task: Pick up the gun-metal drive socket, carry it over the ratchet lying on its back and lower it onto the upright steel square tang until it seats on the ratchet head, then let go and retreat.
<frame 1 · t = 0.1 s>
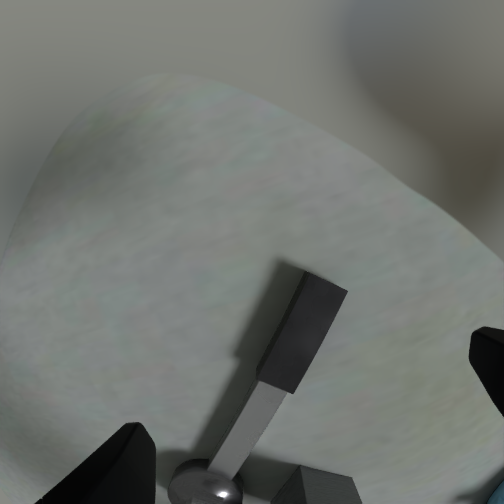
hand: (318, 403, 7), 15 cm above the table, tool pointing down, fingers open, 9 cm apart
socket: (311, 491, 22), on the table
ratchet: (208, 483, 23), on the table
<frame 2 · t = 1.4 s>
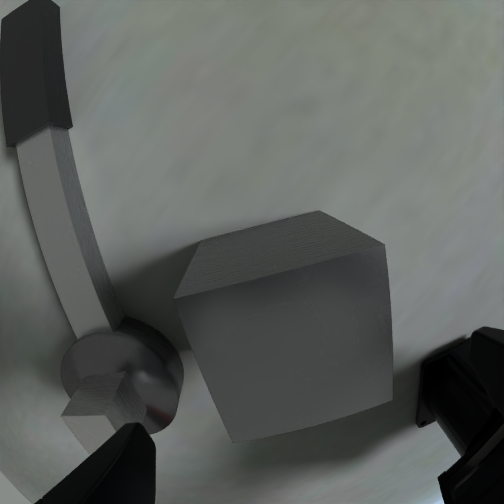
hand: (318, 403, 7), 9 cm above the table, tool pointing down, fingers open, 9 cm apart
socket: (274, 281, 15), on the table
ratchet: (128, 366, 16), on the table
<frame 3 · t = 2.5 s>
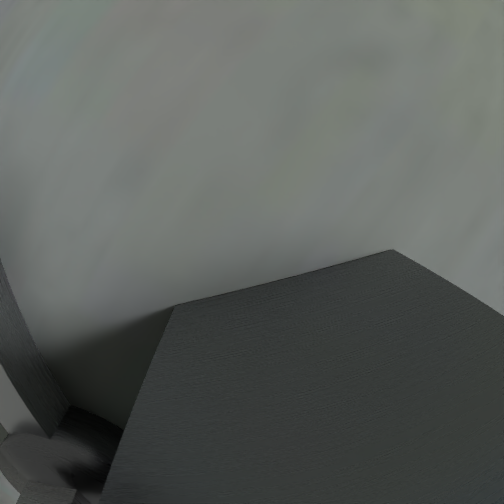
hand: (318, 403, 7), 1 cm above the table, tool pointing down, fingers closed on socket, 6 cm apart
socket: (307, 370, 8), on the table, touching gripper
ratchet: (89, 459, 9), on the table
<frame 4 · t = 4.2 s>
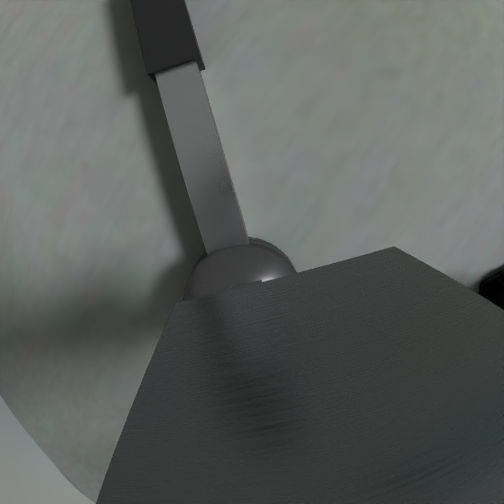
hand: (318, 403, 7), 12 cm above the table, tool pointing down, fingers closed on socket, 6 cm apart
socket: (308, 368, 8), point 10 cm above the table, touching gripper
ratchet: (244, 290, 19), on the table
when the fingers open (4 cm above the table, at t = 6.0 s): socket stays where it is, resting on ratchet.
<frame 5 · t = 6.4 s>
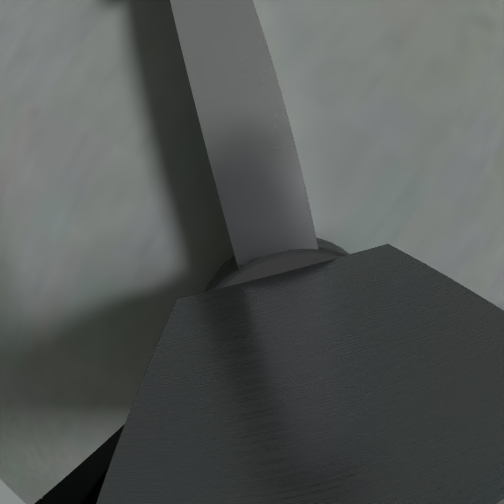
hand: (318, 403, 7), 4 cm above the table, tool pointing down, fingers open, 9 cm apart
socket: (305, 362, 8), point 2 cm above the table, touching ratchet
ratchet: (290, 325, 11), on the table, touching socket
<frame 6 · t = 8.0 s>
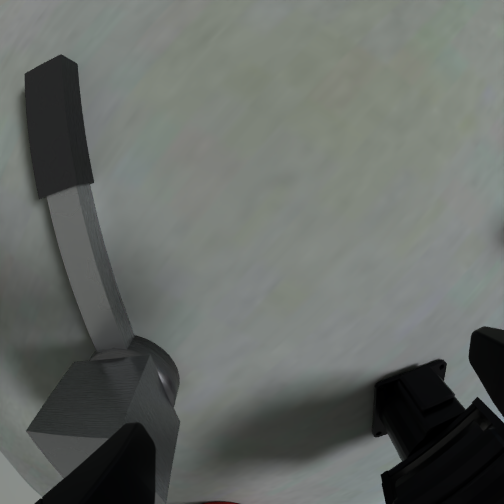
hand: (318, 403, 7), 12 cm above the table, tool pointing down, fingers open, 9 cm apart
socket: (126, 394, 18), point 2 cm above the table, touching ratchet
ratchet: (135, 373, 20), on the table, touching socket
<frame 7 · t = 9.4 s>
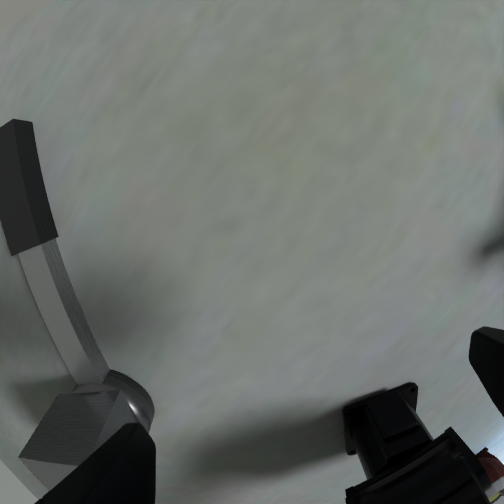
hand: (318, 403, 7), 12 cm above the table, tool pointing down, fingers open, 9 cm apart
socket: (106, 421, 18), point 2 cm above the table, touching ratchet
mate gourd: (468, 459, 27), on the table
ratchet: (115, 401, 21), on the table, touching socket
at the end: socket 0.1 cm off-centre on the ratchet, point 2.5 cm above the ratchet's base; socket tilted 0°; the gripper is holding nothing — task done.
